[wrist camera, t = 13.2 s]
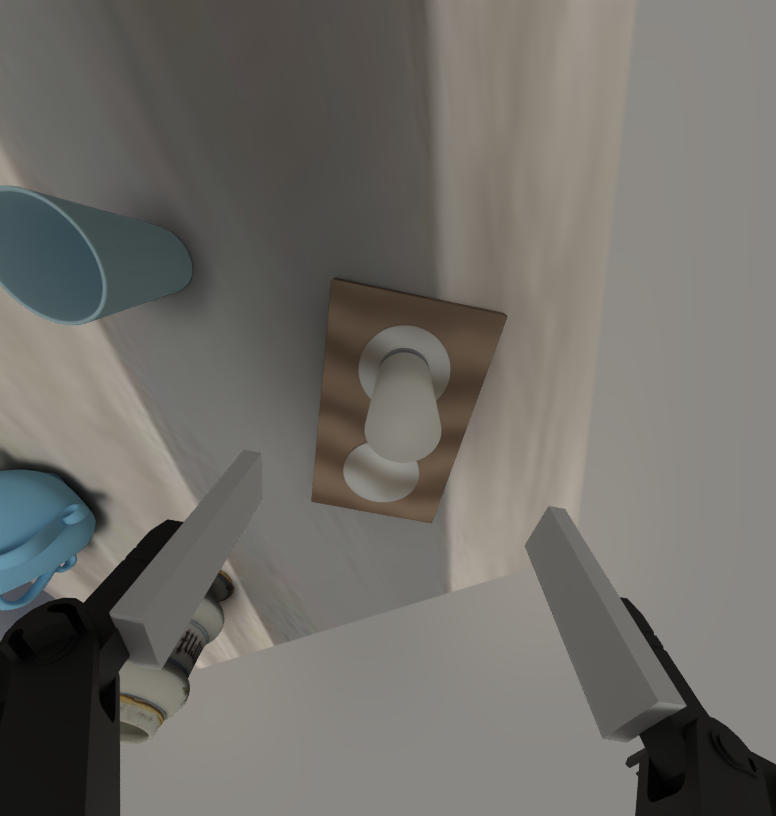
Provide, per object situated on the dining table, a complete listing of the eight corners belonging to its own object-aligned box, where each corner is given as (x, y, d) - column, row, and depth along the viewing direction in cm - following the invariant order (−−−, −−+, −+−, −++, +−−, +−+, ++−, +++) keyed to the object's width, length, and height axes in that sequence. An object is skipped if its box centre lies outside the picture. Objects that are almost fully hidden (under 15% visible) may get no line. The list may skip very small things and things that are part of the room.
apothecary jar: (249, 602, 53) (181, 754, 37) (186, 602, 54) (93, 749, 38) (227, 557, 47) (134, 712, 31) (157, 558, 48) (33, 708, 32)
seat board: (335, 278, 27) (330, 279, 26) (502, 312, 28) (509, 316, 26) (314, 493, 40) (310, 504, 38) (430, 514, 40) (432, 526, 39)
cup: (214, 241, 27) (110, 233, 17) (196, 317, 30) (100, 345, 21) (126, 191, 25) (-37, 154, 16) (118, 277, 28) (-22, 288, 19)
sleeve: (383, 343, 28) (371, 390, 18) (435, 353, 28) (450, 405, 18) (374, 390, 30) (359, 455, 20) (422, 400, 30) (430, 468, 21)
